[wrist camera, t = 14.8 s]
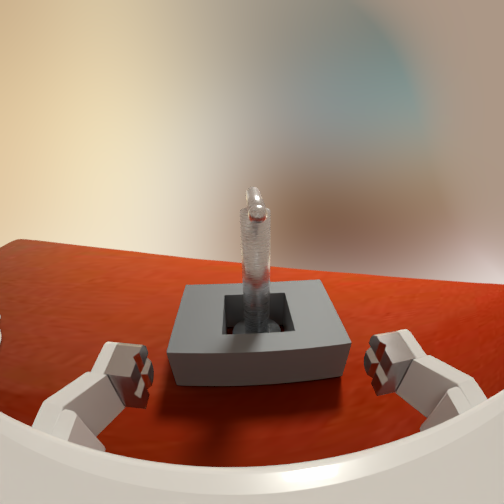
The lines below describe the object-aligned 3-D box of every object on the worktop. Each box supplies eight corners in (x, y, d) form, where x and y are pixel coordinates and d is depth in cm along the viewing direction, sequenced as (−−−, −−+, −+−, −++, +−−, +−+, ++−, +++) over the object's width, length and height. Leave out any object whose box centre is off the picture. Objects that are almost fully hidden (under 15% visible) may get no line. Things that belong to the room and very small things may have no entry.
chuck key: (233, 373, 22) (220, 208, 16) (234, 323, 29) (226, 186, 23) (284, 371, 22) (294, 206, 16) (275, 321, 29) (278, 185, 23)
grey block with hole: (176, 385, 21) (166, 352, 19) (191, 315, 30) (186, 285, 28) (342, 375, 21) (351, 342, 19) (316, 310, 30) (320, 279, 29)
